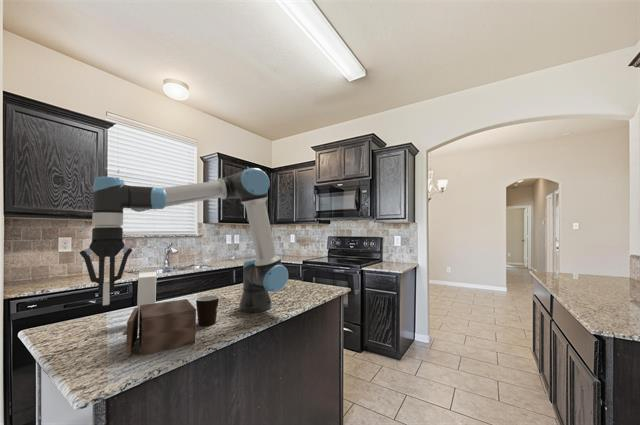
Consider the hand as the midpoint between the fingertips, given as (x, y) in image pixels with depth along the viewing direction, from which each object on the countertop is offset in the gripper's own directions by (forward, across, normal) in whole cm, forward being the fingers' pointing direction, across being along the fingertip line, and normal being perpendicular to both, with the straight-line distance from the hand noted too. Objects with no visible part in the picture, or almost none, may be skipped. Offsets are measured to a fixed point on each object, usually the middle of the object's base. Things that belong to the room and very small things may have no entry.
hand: (106, 303), depth 83 cm
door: (+15, -6, -1) cm, 16 cm away
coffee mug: (+16, -33, -11) cm, 38 cm away
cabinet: (+15, -16, 0) cm, 22 cm away
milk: (+15, -12, -25) cm, 32 cm away
